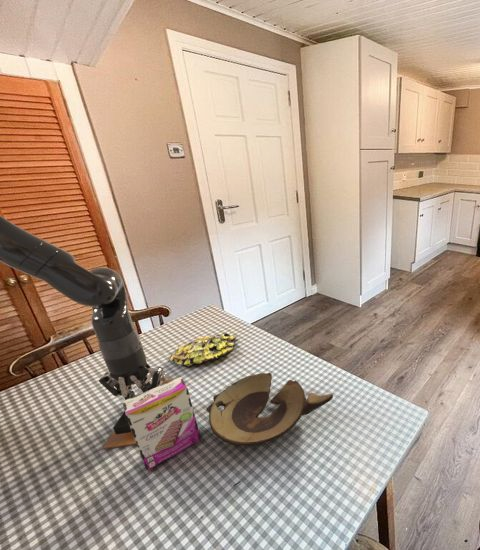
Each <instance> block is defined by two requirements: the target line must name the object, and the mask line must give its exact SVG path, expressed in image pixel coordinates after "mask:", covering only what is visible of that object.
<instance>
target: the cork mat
mask: <svg viewBox="0 0 480 550" xmlns="http://www.w3.org/2000/svg"><path fill="white" fill-rule="evenodd" d="M177 378H178V377H177ZM177 378H169V379H168V378H167V380H166V381H163V383H162V384H161V385H163V384H165V383H168V382H170V381H172V380H175V379H177ZM135 445H137V444H136V441H135V439H134V436H133V433H132V432H129V433H123V434H115V431H114V430H113V432H112V433H111V435H110V436H109V437H108V439H107V440H106V442H105V443H104V445H103V447H102V450H107V449H108V450H109V449H115V448H121V447H129V446H135Z"/></svg>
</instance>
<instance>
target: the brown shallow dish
mask: <svg viewBox="0 0 480 550" xmlns="http://www.w3.org/2000/svg"><path fill="white" fill-rule="evenodd" d="M272 377H273V375H272V373H270V372H266V373H265V372H262V373H261V372H260V373H255V374H251V375H248V376H245V377H242V378H240V379H237V381H235V382H233V383H231V384H230V385H228V386H227V387H225V388H224V389H223V390H222V391H221V392H219V393H217V394H215V395H214V396H213V398H212V400H213V402H212V403H211V404H209V405H208V406H207V407H206V411H207V412H208V413H209V414H208V422H209V426H210V429H211V432H212V433H213V434H214V435H215V436H216V437H217V438H218V439H219V440H222V441H223V442H225V443H226V444H230V445H234V446H240V447H241V446H242V447H255V446H261V445H265V444H267V443H270V442H273V441H275V440H277V439H278V438H280V437H282V436H283V435H285V434H287V433H288V432H289V431H291V430H292V428H294V426H295V425H296V424H297V423H298V422H299V420H300V419H301V417H302V416H306V415H309V414H311V413H312V412H314V411H315V410H318V409H319V408H321V407H322V406H324V405H326V404H327V403H329V402H330V401H332V399H333V398H334V394H332V393H327V394H323V395H319V394H317V393H315V392H310V393H309V394H308V395H307V398H306V393H305V391H304V388H303V386H302V385H301V384H300V383H299V381H297V380H292V379H289V380H287V382H286V383H285V384H284V385H283V386H282V388H281V389H280V390H279V391H278V392H277V393H276V394H275V395H274V396H273V397H272V398H271V399H270V401H269V398H270V393H271V387H272V379H273V378H272ZM268 402H269V403H270V404H274V405H277V407H276V408H275V409H274V408H271V410H273V411H272V412H271V414H269V416H263V417H262V416H261V417H257V416H258V415H259V414H260V413H261V412H262V411H263V410H264V409H265V408H266V406H267V404H268ZM220 407H223V409H222V410H220V409H219V408H220Z"/></svg>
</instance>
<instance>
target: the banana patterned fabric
mask: <svg viewBox="0 0 480 550" xmlns="http://www.w3.org/2000/svg"><path fill="white" fill-rule="evenodd" d="M235 339H236V336H234V335H231V334H229V333H227V332H225V333H224V334H216V335H209V336H207V335H206V336H204V335H203V336H201V337H198V338H195V339H193V340H191V341H189V342H188V343H186V344H183V345H180V346H178V347H177V349H176V351H175V353H173V354H172V355H171V357H170V359H169V361H171V362H174V363H175V364H177V365H181V366H185V367H188V368H189V367H191V366H193V365H194V364H197V365H198V364H202V363H206V362H210V361H213V360H214V361H215V360H217V359H220V358H221V357H224V356H228V355H229V354H230V353H232V352H234V351H233V350H234V348H235V346H236V344H235V343H236V340H235Z"/></svg>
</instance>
